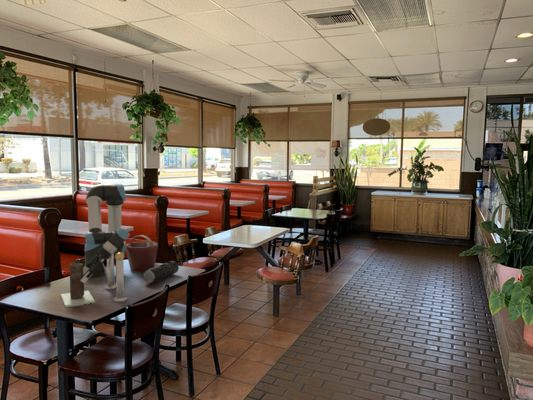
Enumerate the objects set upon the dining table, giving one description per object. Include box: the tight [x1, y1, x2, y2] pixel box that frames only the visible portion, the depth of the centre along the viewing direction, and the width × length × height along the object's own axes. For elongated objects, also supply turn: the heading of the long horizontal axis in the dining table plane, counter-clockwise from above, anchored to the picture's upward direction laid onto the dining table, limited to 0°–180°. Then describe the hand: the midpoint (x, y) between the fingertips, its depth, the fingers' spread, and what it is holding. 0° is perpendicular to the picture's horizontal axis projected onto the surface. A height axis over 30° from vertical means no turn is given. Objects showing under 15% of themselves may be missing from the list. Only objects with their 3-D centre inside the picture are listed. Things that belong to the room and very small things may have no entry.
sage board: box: [60, 290, 96, 308], centre depth 242 cm, size 15×22×1 cm
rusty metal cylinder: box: [69, 262, 85, 299], centre depth 241 cm, size 8×7×20 cm
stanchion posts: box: [104, 252, 128, 303], centre depth 252 cm, size 7×33×28 cm, turn 32°
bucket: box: [125, 234, 159, 273], centre depth 309 cm, size 24×22×25 cm
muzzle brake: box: [142, 260, 179, 284], centre depth 284 cm, size 10×28×10 cm, turn 158°
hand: (80, 278), depth 242 cm, fingers open, 13 cm apart
